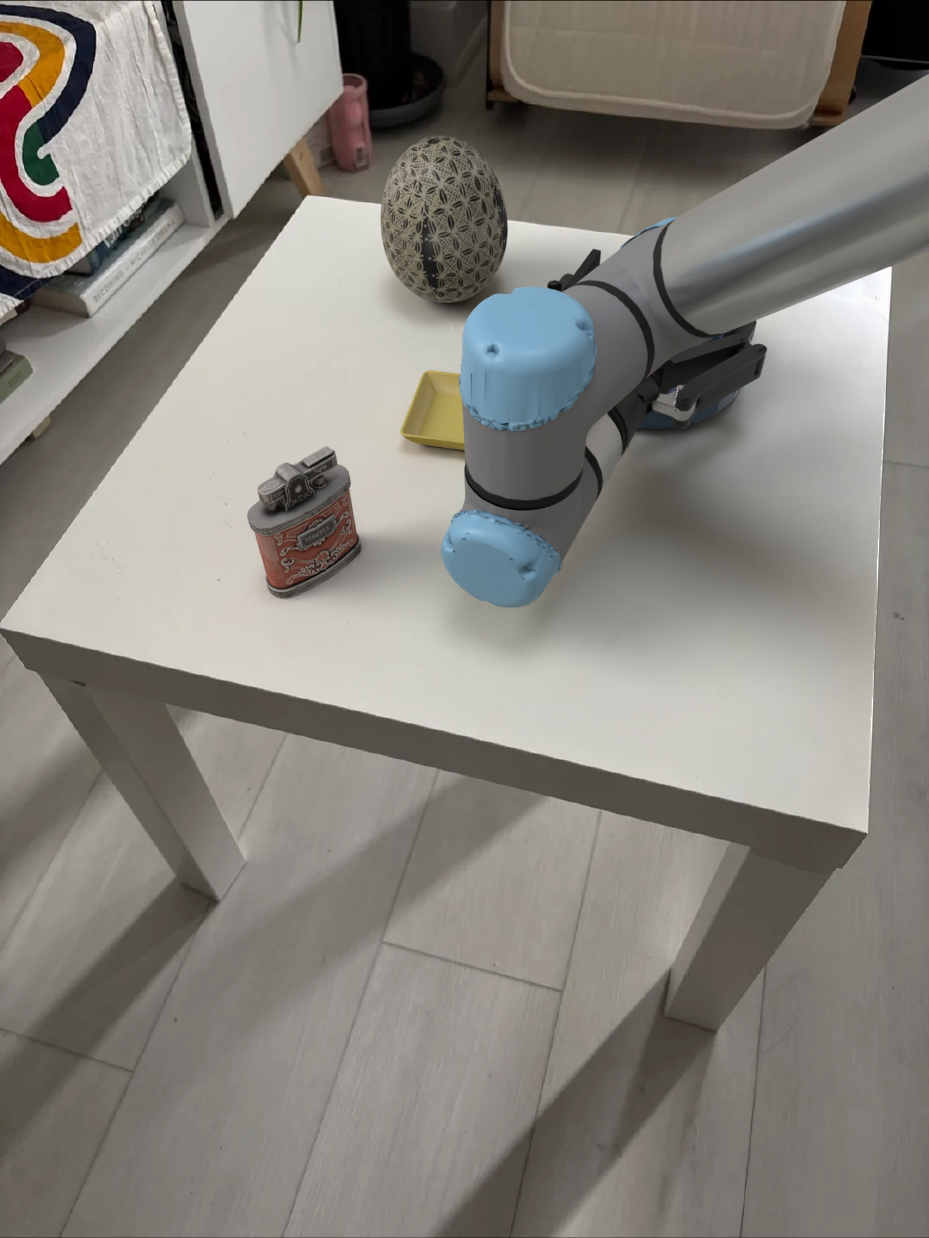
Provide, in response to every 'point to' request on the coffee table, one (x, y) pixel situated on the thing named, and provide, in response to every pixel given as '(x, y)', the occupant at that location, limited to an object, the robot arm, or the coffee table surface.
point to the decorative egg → (443, 220)
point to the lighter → (305, 523)
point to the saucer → (436, 412)
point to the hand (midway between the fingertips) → (671, 281)
